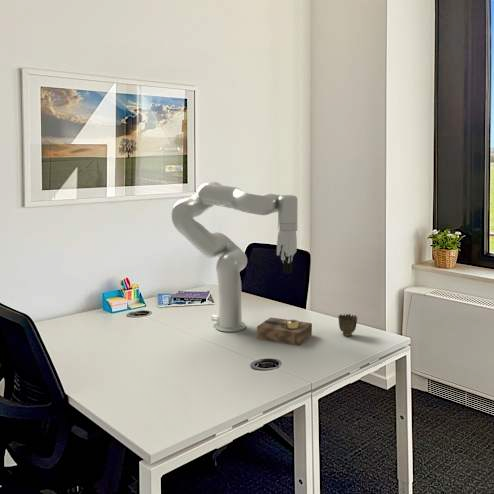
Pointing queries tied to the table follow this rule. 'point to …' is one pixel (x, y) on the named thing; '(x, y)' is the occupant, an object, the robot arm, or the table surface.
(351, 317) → the cup
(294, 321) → the cylinder
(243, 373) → the table surface
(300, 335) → the jig
